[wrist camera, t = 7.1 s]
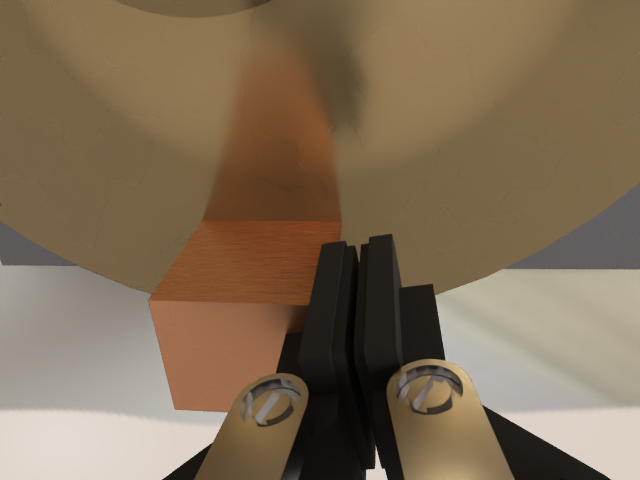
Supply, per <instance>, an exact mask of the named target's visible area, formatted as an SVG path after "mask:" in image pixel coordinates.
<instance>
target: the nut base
mask: <svg viewBox="0 0 640 480" xmlns="http://www.w3.org/2000/svg"><path fill="white" fill-rule="evenodd" d="M0 260H1V262H2V265H52V266H78V265H76V264H74V263H72V262H70V261H68V260H66V259H65V258H63V257H61V256H59V255H57V254H55V253H53V252H51V251H49V250H47V249H45V248H44V247H42V246H40V245H38V244H36V243H34V242H32V241H31V240H29V239H27V238H26V237H24V236H23V235H21V234H20V233H18V232H17V231H15V230H14V229H12V228H10V227H9V226H7V225H6V224H4V223H3V222H1V221H0ZM505 268H508V269H640V183H639V184H637V185H636V186H635V187H633V188H632V189H631V190H629V191H628V192H627V193H626V194H624V195H623V196H622V197H620V198H619V199H618V200H616V201H615V202H614V203H612V204H611V205H610V206H609V207H607V208H606V209H605V210H603V211H602V212H601V213H599V214H598V215H597V216H596V217H594V218H592V219H591V220H589V221H588V222H586V223H584V224H583V225H581V226H579V227H578V228H576V229H575V230H573V231H571V232H570V233H568V234H567V235H565V236H563V237H562V238H560V239H558V240H557V241H555V242H554V243H552V244H550V245H549V246H547V247H545V248H544V249H542V250H541V251H539V252H537V253H534V254H532V255H530V256H528V257H526V258H524V259H522V260H520V261H518V262H516V263H514V264H512V265H510V266H507V267H505Z"/></svg>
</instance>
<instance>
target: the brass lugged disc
mask: <svg viewBox="0 0 640 480" xmlns="http://www.w3.org/2000/svg"><path fill="white" fill-rule="evenodd" d="M639 183H640V0H0V221H1V222H3V223H4V224H6V225H7V226H9V227H10V228H12V229H14V230H15V231H17V232H18V233H20V234H21V235H23V236H24V237H26V238H27V239H29V240H31V241H32V242H34V243H36V244H38V245H40V246H42V247H44V248H45V249H47V250H49V251H51V252H53V253H55V254H57V255H59V256H61V257H63V258H65V259H66V260H68V261H70V262H72V263H74V264H76V265H78V266H80V267H82V268H84V269H87V270H89V271H92V272H94V273H97V274H99V275H101V276H104V277H106V278H109V279H111V280H114V281H116V282H119V283H121V284H123V285H126V286H128V287H131V288H134V289H138V290H141V291H144V292H148V293H151V294H152V295H151V297H150V298H149V300H148V302H149V306H150V310H151V314H152V318H153V322H154V326H155V330H156V334H157V339H158V343H159V347H160V351H161V355H162V359H163V363H164V367H165V371H166V375H167V379H168V383H169V388H170V392H171V396H172V400H173V404H174V408H175V410H194V411H214V412H229V410H230V409H231V407H232V405H233V403H234V401H235V399H236V398H237V396H238V395H239V393H240V392H241V391H242V390H243V389H244V388H245V387H246V386H248V385H249V384H250V383H252V382H253V381H255V380H257V379H259V378H261V377H264V376H267V375H270V374H276V370H277V366H278V362H279V358H280V354H281V350H282V346H283V343H284V339H285V335H286V334H289V333H298V332H303V330H304V326H305V321H306V316H307V312H308V307H309V302H310V297H311V293H312V288H313V283H314V279H315V274H316V269H317V265H318V260H319V255H320V250H321V246H322V244H325V243H332V242H338V241H346V243H347V246H352V245H355V247H356V250H357V255H358V259H359V262H360V249H361V244H366V243H369V237H372V236H379V235H386V234H393V238H394V244H395V249H396V255H397V261H398V266H399V272H400V277H401V283H402V287H409V286H417V285H425V284H433V287H434V293H435V295H437V294H439V293H442V292H445V291H448V290H451V289H453V288H456V287H459V286H462V285H465V284H467V283H470V282H473V281H476V280H479V279H481V278H484V277H487V276H489V275H491V274H493V273H495V272H497V271H499V270H501V269H503V268H505V267H507V266H510V265H512V264H514V263H516V262H518V261H520V260H522V259H524V258H526V257H528V256H530V255H532V254H534V253H537V252H539V251H541V250H542V249H544V248H545V247H547V246H549V245H550V244H552V243H554V242H555V241H557V240H558V239H560V238H562V237H563V236H565V235H567V234H568V233H570V232H571V231H573V230H575V229H576V228H578V227H579V226H581V225H583V224H584V223H586V222H588V221H589V220H591V219H592V218H594V217H596V216H597V215H598V214H599V213H601V212H602V211H603V210H605V209H606V208H607V207H609V206H610V205H611V204H612V203H614V202H615V201H616V200H618V199H619V198H620V197H622V196H623V195H624V194H626V193H627V192H628V191H629V190H631V189H632V188H633V187H635V186H636V185H637V184H639Z"/></svg>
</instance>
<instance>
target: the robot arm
mask: <svg viewBox="0 0 640 480" xmlns="http://www.w3.org/2000/svg"><path fill="white" fill-rule="evenodd" d="M375 446H376V447H377V451H378V455H379V459H380V463H381V467H382V469H383V468H385V471H386V475H387V478H388V480H610V479H609V478H608V477H607V476H605V475H603V474H602V473H600V472H598V471H596V470H595V469H593V468H591V467H589V466H587V465H586V464H584V463H582V462H581V461H579V460H577V459H575V458H574V457H572V456H570V455H568V454H567V453H565V452H563V451H562V450H560V449H558V448H556V447H554V446H553V445H551V444H549V443H548V442H546V441H544V440H542V439H541V438H539V437H537V436H535V435H534V434H532V433H530V432H528V431H527V430H525V429H523V428H521V427H520V426H518V425H516V424H514V423H513V422H511V421H509V420H508V419H506V418H504V417H502V416H501V415H499V414H497V413H495V412H494V411H492V410H490V409H488V408H487V407H485V406H483V405H482V404H481V402H480V400H479V397H478V395H477V393H476V390H475V388H474V386H473V384H472V381H471V379H470V378H469V377H468V375H467V374H466V372H465V371H464V370H462V369H461V368H460V367H458V366H457V365H455V364H453V363H450V362H447V361H445V355H444V348H443V342H442V336H441V330H440V324H439V318H438V312H437V306H436V299H435V293H434V287H433V284H425V285H417V286H409V287H402V283H401V277H400V272H399V266H398V261H397V255H396V249H395V244H394V238H393V234H386V235H379V236H372V237H369V243H366V244H361V249H360V262H359V259H358V255H357V250H356V247H355V245H352V246H347V243H346V241H338V242H332V243H325V244H322V246H321V250H320V255H319V260H318V265H317V269H316V274H315V279H314V283H313V288H312V293H311V297H310V302H309V307H308V312H307V316H306V321H305V326H304V330H303V332H298V333H289V334H286V335H285V339H284V343H283V346H282V350H281V354H280V358H279V362H278V366H277V370H276V374H270V375H267V376H264V377H261V378H259V379H257V380H255V381H253V382H252V383H250V384H249V385H248V386H246V387H245V388H244V389H243V390H242V391H241V392H240V393H239V395H238V396H237V398H236V399H235V401H234V403H233V405H232V407H231V409H230V410H229V412H228V414H227V416H226V418H225V420H224V422H223V424H222V426H221V428H220V430H219V432H218V434H217V436H216V438H215V440H214V442H213V443H212V444H210V445H209V446H207V447H206V448H205V449H203V450H202V451H200V452H199V453H198V454H196V455H195V456H194V457H192V458H191V459H190V460H188V461H187V462H186V463H184V464H183V465H181V466H180V467H179V468H177V469H176V470H175V471H173V472H172V473H171V474H169V475H168V476H167V477H166V478H164V479H163V480H366V469H375V450H376V447H375Z"/></svg>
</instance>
